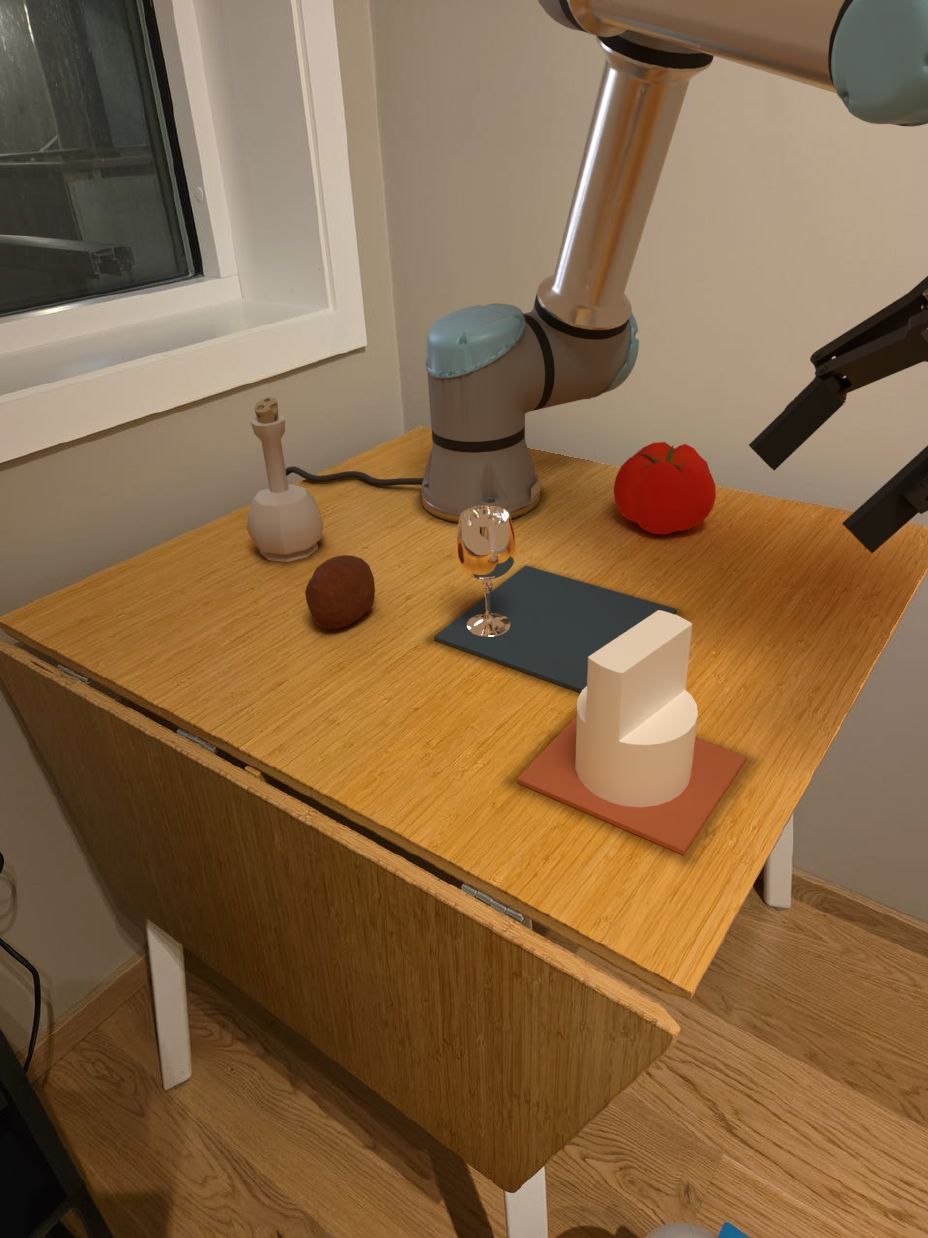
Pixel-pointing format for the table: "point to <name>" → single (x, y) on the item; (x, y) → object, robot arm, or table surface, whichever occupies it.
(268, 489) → the potion bottle
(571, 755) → the mat
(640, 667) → the base with upright slab
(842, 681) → the table surface
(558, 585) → the mat
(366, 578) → the potato
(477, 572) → the wineglass
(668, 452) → the tomato
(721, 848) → the table surface
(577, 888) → the table surface
